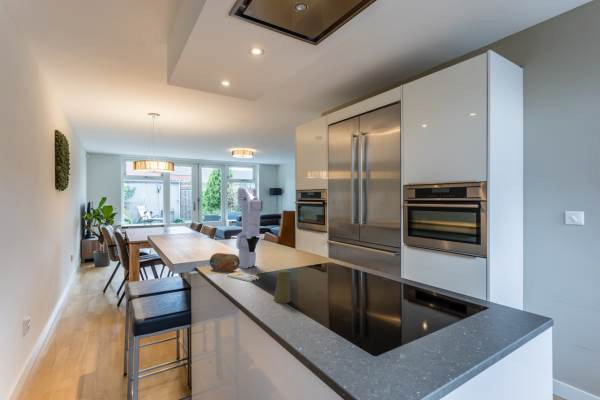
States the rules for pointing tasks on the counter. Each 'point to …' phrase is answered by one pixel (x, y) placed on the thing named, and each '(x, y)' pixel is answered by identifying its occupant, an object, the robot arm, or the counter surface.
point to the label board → (243, 276)
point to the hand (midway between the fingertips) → (251, 252)
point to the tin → (224, 262)
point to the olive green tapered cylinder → (283, 287)
